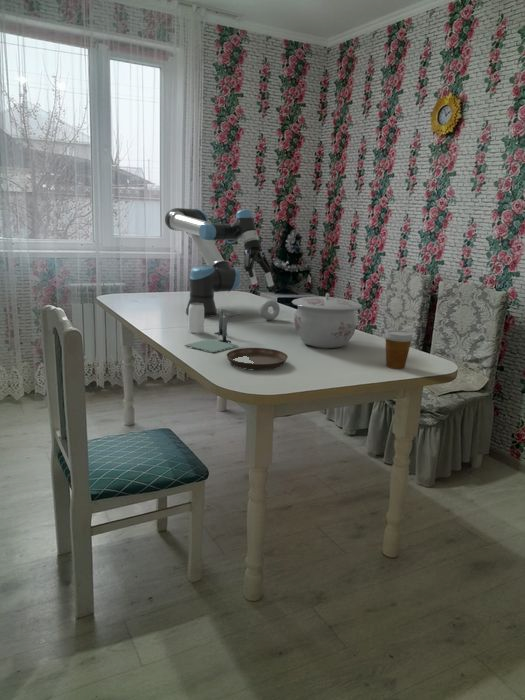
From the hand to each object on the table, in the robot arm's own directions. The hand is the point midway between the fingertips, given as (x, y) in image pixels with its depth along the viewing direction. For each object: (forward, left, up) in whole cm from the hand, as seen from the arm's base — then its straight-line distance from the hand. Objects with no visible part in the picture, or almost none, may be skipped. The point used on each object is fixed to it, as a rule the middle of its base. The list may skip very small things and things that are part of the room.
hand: (263, 285), depth 247 cm
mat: (+14, -53, -18) cm, 57 cm away
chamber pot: (+43, -18, -18) cm, 50 cm away
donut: (-1, +8, -18) cm, 20 cm away
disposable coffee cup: (+77, -29, -18) cm, 84 cm away
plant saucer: (+40, -60, -18) cm, 74 cm away
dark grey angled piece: (+8, -38, -18) cm, 42 cm away
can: (-7, -38, -18) cm, 42 cm away
